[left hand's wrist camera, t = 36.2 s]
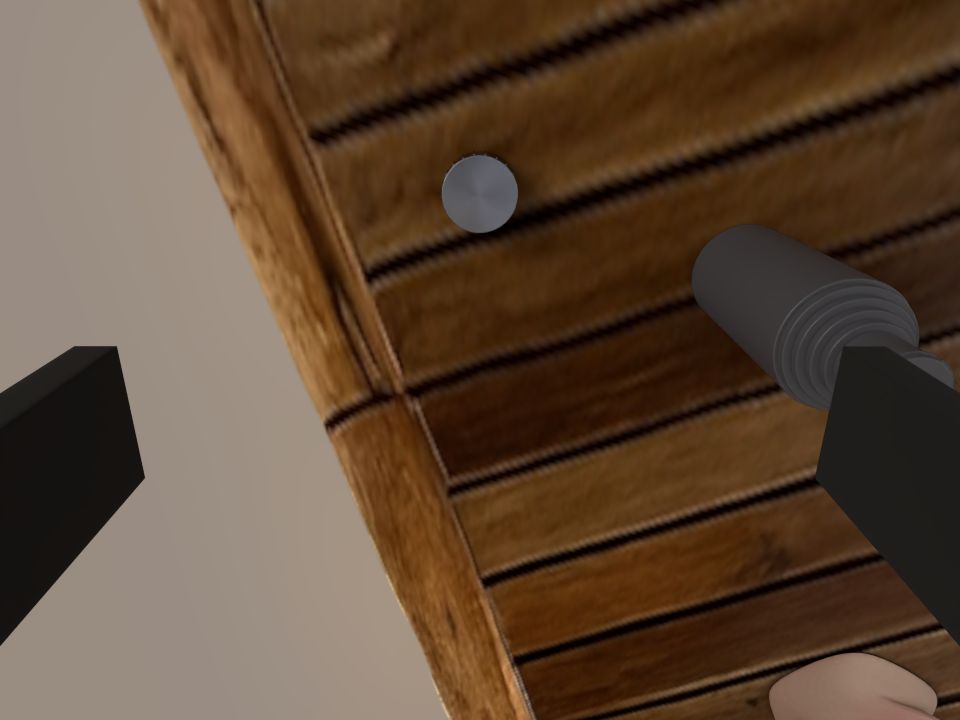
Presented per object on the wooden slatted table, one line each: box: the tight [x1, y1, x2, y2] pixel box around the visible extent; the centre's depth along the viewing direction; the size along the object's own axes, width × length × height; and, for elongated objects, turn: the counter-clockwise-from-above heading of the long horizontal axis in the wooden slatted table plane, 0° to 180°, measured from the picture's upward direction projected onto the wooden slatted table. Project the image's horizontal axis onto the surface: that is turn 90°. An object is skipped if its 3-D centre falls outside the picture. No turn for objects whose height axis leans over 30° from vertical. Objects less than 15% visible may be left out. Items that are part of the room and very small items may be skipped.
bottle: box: [692, 224, 955, 411], centre depth 35 cm, size 6×6×18 cm
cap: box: [441, 151, 518, 233], centre depth 40 cm, size 4×4×2 cm
